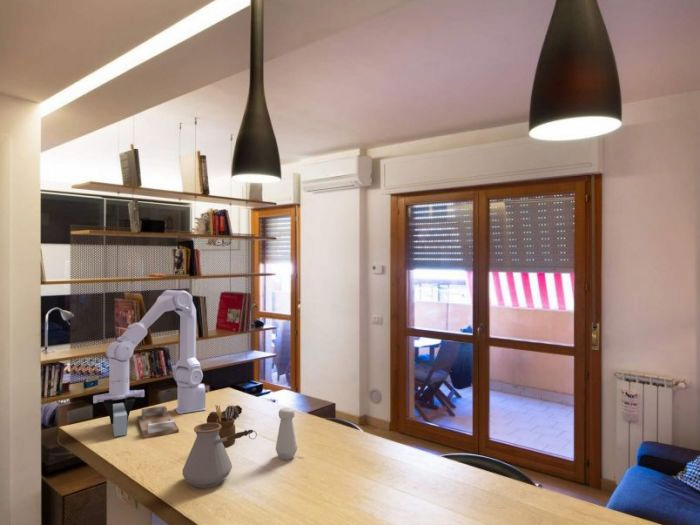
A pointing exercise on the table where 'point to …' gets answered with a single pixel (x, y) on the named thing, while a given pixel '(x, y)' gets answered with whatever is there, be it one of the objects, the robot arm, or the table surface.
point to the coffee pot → (209, 456)
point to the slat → (119, 420)
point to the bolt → (213, 415)
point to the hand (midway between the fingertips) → (119, 422)
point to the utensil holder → (226, 426)
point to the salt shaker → (286, 435)
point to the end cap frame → (156, 422)
